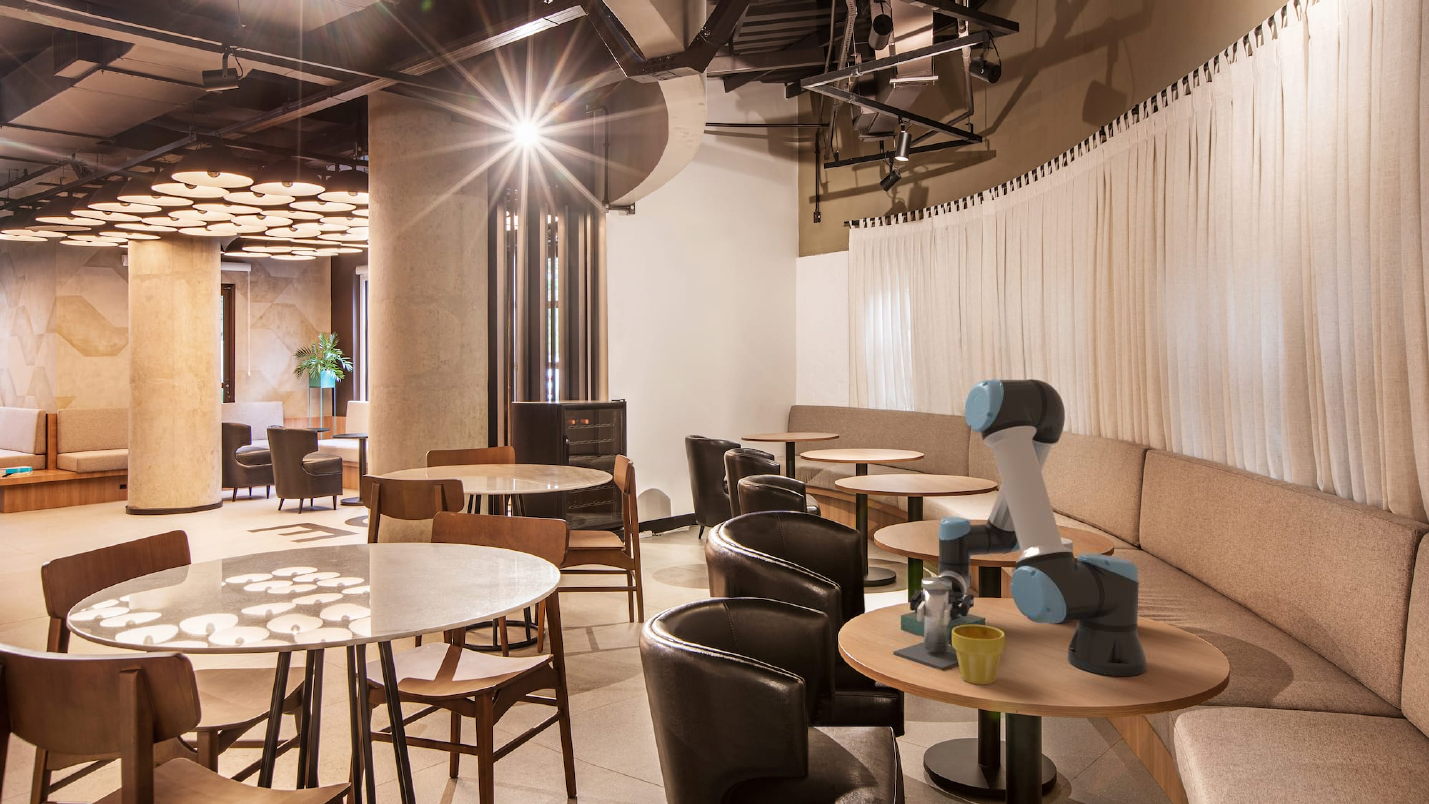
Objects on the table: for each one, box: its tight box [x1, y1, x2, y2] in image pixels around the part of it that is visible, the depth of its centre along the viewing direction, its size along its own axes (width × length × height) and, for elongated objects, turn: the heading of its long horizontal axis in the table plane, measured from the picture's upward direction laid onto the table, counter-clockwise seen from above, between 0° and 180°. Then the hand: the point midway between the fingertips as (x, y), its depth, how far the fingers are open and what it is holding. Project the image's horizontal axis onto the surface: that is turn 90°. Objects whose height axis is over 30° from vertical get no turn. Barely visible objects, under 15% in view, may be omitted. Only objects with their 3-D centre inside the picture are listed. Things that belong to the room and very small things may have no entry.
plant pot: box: [951, 625, 1006, 685], centre depth 173 cm, size 10×10×10 cm
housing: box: [900, 611, 986, 645], centre depth 205 cm, size 14×14×4 cm
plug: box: [921, 576, 952, 652], centre depth 187 cm, size 6×6×15 cm
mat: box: [892, 641, 959, 671], centre depth 187 cm, size 13×13×1 cm
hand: (932, 616), depth 182 cm, fingers closed on plug, 5 cm apart
